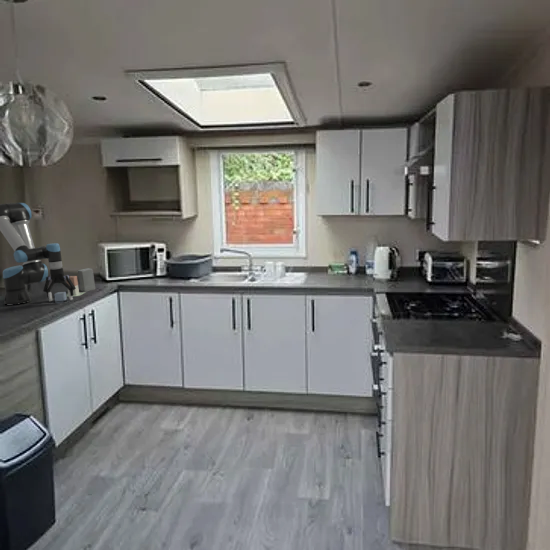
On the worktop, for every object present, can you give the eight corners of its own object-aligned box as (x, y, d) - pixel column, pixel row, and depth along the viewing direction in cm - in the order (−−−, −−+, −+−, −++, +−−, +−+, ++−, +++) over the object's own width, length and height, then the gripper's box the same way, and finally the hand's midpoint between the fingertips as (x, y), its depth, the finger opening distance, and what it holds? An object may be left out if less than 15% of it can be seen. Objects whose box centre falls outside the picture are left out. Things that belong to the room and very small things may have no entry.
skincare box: (91, 290, 339) (87, 267, 336) (96, 290, 334) (93, 268, 332) (79, 292, 333) (76, 269, 330) (85, 293, 328) (81, 270, 325)
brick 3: (68, 295, 318) (67, 286, 317) (71, 293, 323) (70, 285, 322) (75, 295, 318) (74, 286, 317) (79, 293, 323) (77, 284, 322)
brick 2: (67, 286, 317) (66, 277, 316) (70, 285, 322) (69, 276, 321) (74, 286, 317) (73, 277, 316) (78, 284, 322) (76, 275, 321)
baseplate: (61, 298, 315) (60, 297, 315) (69, 294, 327) (69, 293, 327) (79, 297, 315) (78, 295, 314) (86, 293, 327) (86, 292, 326)
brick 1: (55, 303, 303) (54, 293, 302) (59, 301, 308) (57, 292, 307) (63, 302, 303) (62, 293, 302) (67, 300, 308) (65, 291, 307)
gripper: (33, 270, 298) (39, 304, 302) (72, 268, 297) (77, 301, 301) (40, 268, 306) (45, 301, 309) (78, 266, 304) (82, 299, 308)
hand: (61, 301), depth 305 cm, fingers open, 12 cm apart
